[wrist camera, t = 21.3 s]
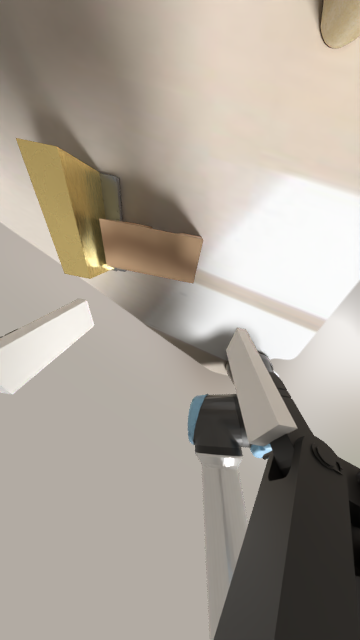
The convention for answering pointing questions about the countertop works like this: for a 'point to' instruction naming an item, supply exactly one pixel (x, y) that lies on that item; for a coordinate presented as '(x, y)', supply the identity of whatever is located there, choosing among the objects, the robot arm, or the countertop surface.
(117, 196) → the cradle
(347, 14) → the flower pot
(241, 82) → the countertop surface
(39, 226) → the countertop surface
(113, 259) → the brown wooden block
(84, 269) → the bar
